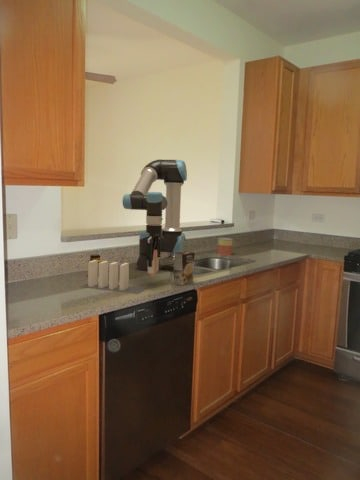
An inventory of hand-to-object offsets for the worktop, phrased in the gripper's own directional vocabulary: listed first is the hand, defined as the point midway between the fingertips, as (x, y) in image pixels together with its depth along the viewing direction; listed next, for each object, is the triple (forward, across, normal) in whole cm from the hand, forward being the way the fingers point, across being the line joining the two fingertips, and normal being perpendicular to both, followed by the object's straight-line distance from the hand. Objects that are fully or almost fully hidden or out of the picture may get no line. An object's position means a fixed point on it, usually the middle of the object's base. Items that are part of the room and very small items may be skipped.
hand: (153, 271), depth 193 cm
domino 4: (+7, -11, +10) cm, 16 cm away
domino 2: (+7, -11, +21) cm, 25 cm away
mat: (+8, -10, +16) cm, 20 cm away
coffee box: (+9, +15, -11) cm, 21 cm away
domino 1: (+7, -11, +27) cm, 30 cm away
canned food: (+11, +115, -13) cm, 117 cm away
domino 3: (+7, -11, +16) cm, 20 cm away
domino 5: (+1, 0, 0) cm, 1 cm away
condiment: (+9, +7, +37) cm, 39 cm away
